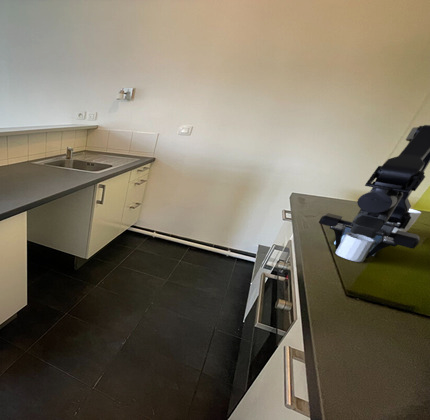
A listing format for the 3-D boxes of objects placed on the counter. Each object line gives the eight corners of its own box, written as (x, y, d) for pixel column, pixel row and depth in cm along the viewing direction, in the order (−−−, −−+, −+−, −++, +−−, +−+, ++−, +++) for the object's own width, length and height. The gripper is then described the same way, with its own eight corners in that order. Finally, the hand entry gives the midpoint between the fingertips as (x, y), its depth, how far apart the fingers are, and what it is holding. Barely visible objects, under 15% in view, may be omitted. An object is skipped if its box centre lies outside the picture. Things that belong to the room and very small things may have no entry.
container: (337, 237, 90) (343, 226, 88) (377, 249, 83) (384, 237, 81) (332, 243, 85) (339, 232, 83) (374, 256, 78) (382, 244, 76)
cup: (337, 249, 81) (347, 231, 78) (364, 258, 76) (376, 238, 74) (333, 254, 78) (344, 235, 75) (362, 264, 73) (374, 243, 70)
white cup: (412, 238, 92) (429, 214, 89) (387, 235, 94) (403, 211, 90) (390, 229, 100) (405, 206, 96) (367, 226, 101) (381, 204, 97)
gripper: (326, 201, 73) (304, 246, 79) (434, 225, 59) (397, 277, 65) (334, 196, 79) (312, 238, 85) (433, 216, 65) (399, 265, 71)
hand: (350, 253), depth 77 cm, fingers closed on cup, 6 cm apart
